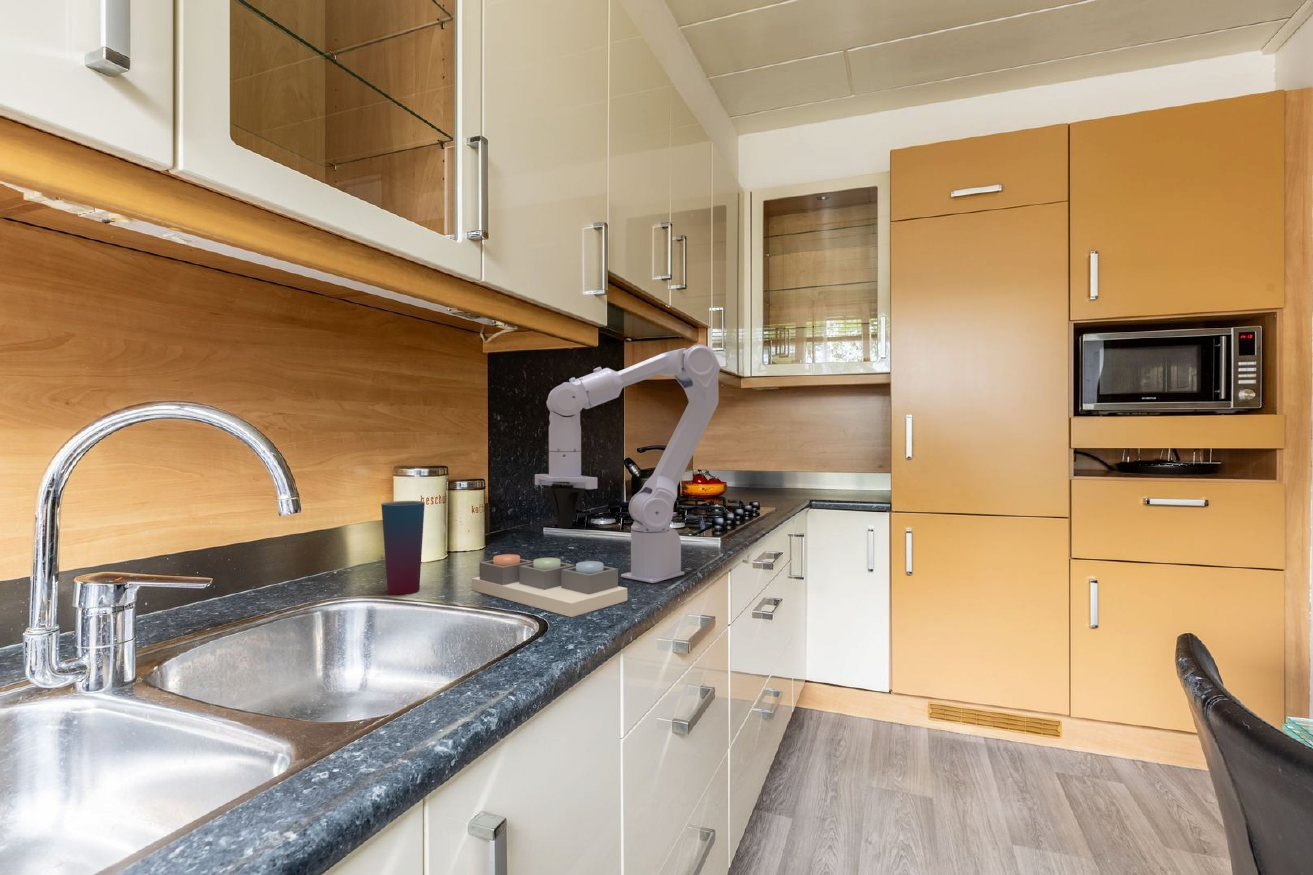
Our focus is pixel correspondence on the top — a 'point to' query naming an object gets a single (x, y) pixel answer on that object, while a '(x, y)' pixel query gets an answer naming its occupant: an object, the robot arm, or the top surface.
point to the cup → (403, 545)
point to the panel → (551, 587)
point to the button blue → (589, 567)
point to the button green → (546, 563)
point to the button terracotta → (506, 560)
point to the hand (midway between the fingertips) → (565, 527)
